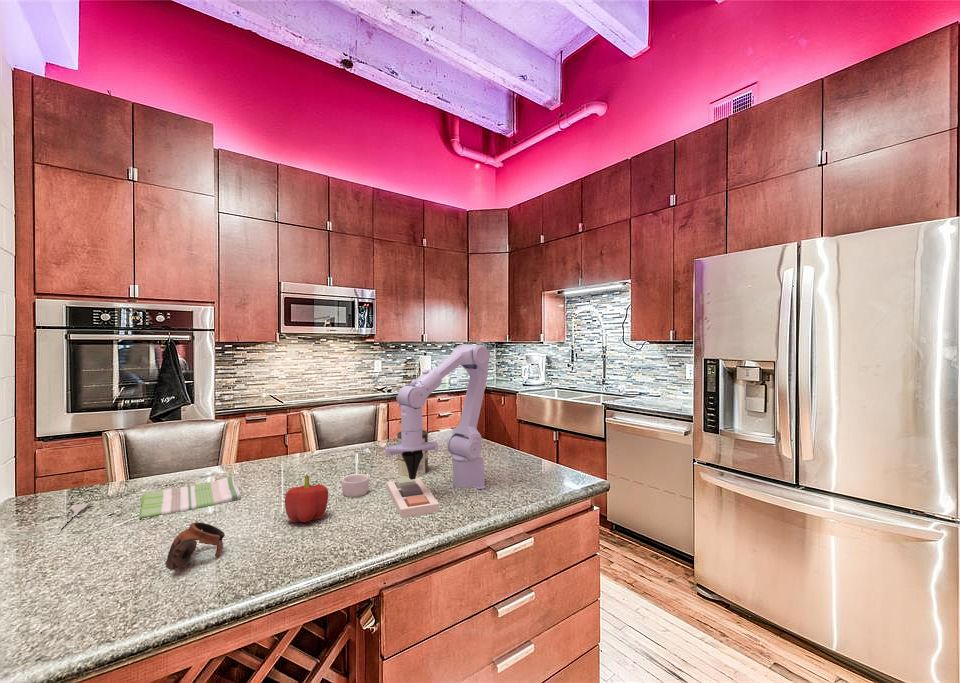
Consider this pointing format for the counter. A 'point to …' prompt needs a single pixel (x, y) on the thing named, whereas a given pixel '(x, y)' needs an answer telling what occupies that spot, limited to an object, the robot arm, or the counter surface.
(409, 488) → the key charcoal
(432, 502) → the pink tray
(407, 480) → the key sage
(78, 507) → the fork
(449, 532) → the counter surface
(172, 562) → the brown curved piece
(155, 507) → the dish towel
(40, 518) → the counter surface
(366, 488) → the teacup
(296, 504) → the vegetable
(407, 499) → the key terracotta
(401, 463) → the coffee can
